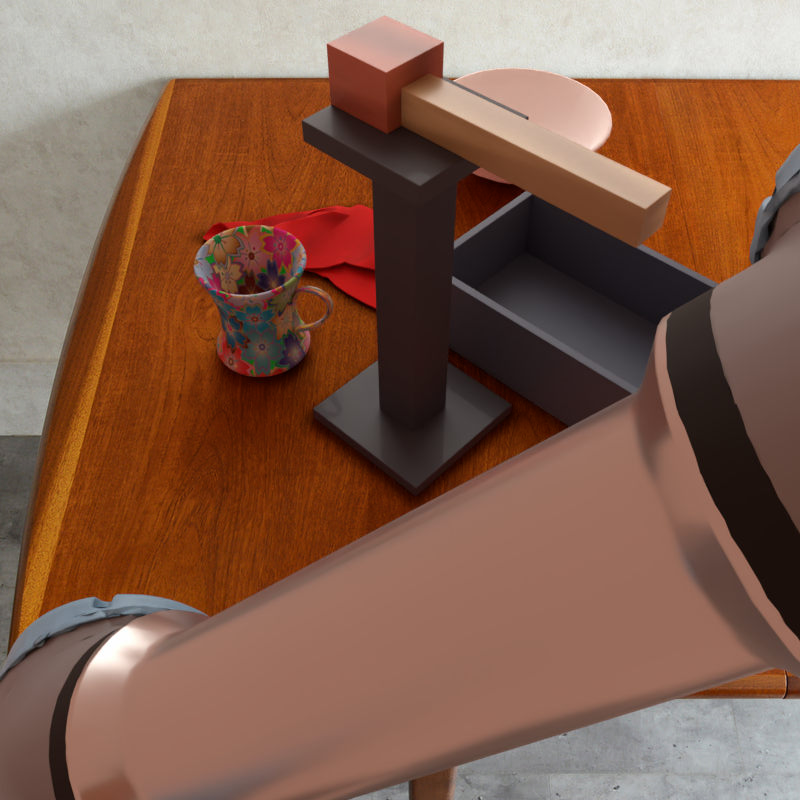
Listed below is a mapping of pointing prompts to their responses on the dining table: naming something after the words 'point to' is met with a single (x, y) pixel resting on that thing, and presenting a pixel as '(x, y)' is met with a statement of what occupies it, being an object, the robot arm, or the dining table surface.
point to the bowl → (545, 104)
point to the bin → (561, 306)
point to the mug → (258, 298)
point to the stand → (407, 306)
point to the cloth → (330, 245)
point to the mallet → (485, 130)
